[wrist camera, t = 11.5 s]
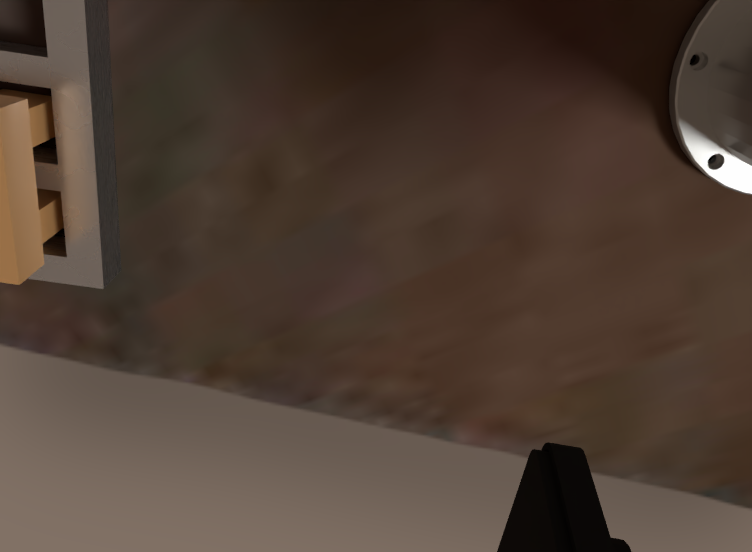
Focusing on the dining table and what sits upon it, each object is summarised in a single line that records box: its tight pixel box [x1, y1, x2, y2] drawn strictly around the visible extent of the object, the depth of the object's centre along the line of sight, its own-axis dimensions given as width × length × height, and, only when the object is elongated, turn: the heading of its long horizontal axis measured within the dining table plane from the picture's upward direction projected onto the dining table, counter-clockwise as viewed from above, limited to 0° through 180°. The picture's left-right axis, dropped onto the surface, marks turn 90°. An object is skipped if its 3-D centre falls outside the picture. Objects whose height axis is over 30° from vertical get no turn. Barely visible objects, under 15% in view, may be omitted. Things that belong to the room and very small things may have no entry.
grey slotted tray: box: [0, 0, 121, 289], centre depth 32 cm, size 9×24×2 cm, turn 172°
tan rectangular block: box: [0, 89, 64, 285], centre depth 33 cm, size 4×9×6 cm, turn 172°
